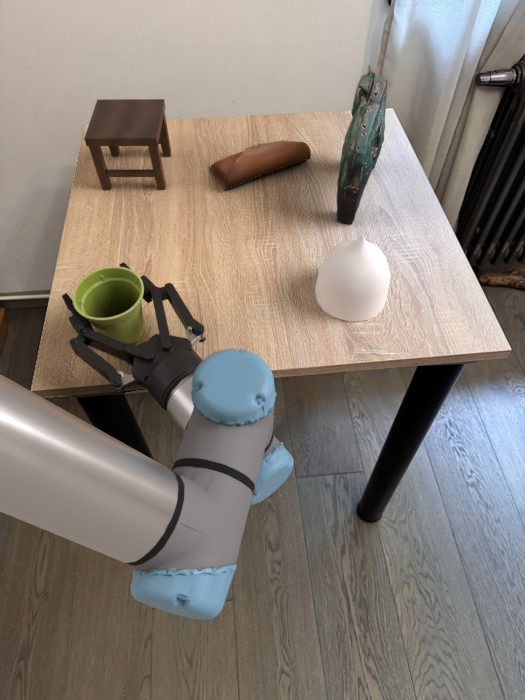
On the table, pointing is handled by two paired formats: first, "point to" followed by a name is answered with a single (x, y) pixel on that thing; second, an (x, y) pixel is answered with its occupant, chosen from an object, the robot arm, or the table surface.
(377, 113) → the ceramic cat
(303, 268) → the table surface
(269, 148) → the sunglasses case
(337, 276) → the teardrop
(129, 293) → the plant pot
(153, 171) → the plant stand
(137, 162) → the table surface
